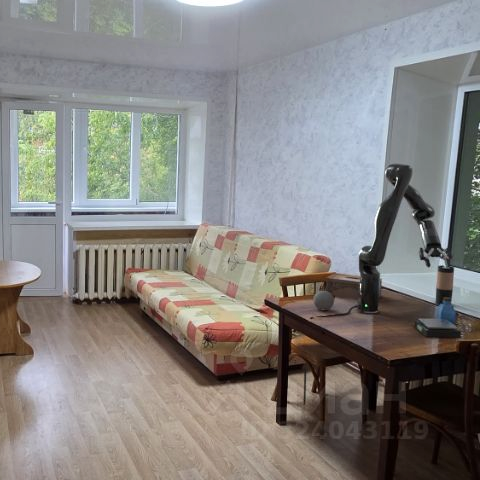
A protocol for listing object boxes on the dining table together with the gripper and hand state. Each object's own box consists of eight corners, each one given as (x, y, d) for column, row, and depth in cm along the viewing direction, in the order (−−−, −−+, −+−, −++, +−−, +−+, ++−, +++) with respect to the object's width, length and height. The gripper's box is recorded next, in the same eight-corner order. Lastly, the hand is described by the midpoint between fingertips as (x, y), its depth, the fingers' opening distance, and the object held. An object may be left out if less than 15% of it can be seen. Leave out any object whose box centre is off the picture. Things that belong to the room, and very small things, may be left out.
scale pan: (428, 328, 226) (428, 326, 226) (417, 320, 238) (417, 318, 238) (457, 329, 225) (457, 327, 225) (445, 320, 237) (445, 318, 237)
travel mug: (443, 306, 269) (445, 268, 266) (431, 302, 277) (434, 265, 273) (455, 305, 271) (457, 267, 268) (443, 301, 279) (446, 264, 275)
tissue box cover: (325, 294, 295) (326, 277, 294) (335, 289, 307) (335, 272, 305) (373, 302, 280) (374, 283, 278) (380, 296, 291) (381, 278, 289)
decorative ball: (329, 314, 260) (330, 294, 259) (310, 310, 266) (310, 291, 265) (336, 309, 268) (337, 290, 266) (317, 306, 274) (317, 287, 272)
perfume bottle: (454, 325, 240) (456, 300, 238) (440, 324, 241) (442, 299, 240) (450, 321, 246) (452, 296, 244) (436, 320, 247) (437, 296, 246)
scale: (425, 337, 226) (425, 330, 225) (413, 326, 240) (413, 320, 239) (460, 337, 224) (460, 331, 224) (446, 327, 238) (446, 320, 238)
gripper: (418, 234, 258) (425, 262, 249) (448, 234, 257) (457, 262, 247) (413, 243, 264) (420, 270, 255) (443, 243, 263) (451, 270, 254)
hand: (438, 266), depth 251 cm, fingers open, 8 cm apart
